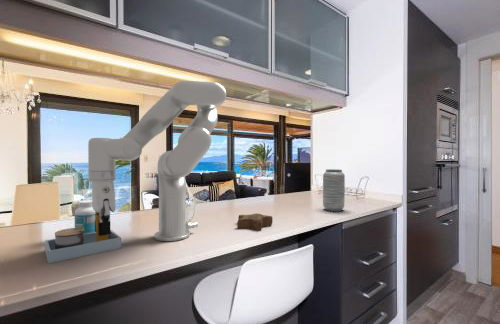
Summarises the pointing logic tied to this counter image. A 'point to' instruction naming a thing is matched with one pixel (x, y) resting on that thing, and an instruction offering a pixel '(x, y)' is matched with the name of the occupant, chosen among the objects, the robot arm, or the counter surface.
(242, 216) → the decorative item
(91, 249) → the tote
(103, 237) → the supplement box
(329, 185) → the vase
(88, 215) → the pill bottle
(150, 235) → the counter surface
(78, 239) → the tin
